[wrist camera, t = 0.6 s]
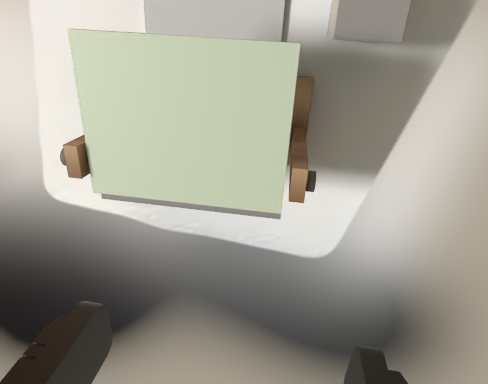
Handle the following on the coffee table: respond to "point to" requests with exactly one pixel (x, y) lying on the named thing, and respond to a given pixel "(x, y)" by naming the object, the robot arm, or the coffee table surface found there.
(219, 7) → the mat
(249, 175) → the trapdoor
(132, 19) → the coffee table surface
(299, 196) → the frame
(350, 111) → the coffee table surface
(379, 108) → the coffee table surface
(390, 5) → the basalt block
